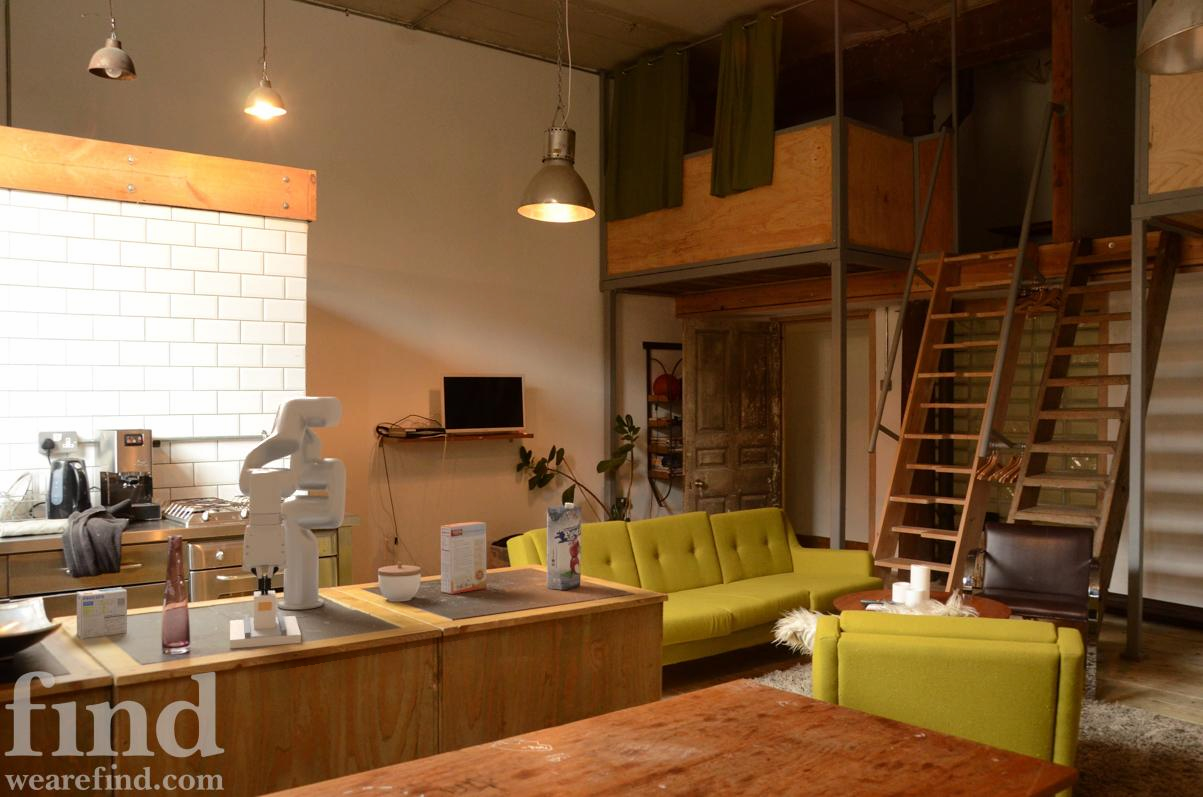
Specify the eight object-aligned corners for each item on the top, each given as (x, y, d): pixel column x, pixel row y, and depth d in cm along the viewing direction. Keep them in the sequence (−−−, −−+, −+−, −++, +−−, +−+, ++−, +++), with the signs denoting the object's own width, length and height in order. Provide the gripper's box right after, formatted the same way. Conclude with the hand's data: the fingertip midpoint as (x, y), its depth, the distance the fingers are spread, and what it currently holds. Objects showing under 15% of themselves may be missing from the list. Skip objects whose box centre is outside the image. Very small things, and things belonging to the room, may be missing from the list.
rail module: (253, 623, 241) (253, 591, 241) (274, 622, 243) (274, 590, 243) (254, 629, 234) (254, 596, 234) (275, 628, 236) (275, 595, 236)
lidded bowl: (414, 593, 293) (415, 557, 293) (425, 601, 281) (426, 563, 281) (373, 597, 287) (373, 560, 287) (382, 605, 276) (383, 566, 276)
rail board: (229, 628, 246) (230, 615, 246) (295, 623, 251) (295, 610, 252) (229, 648, 225) (230, 634, 225) (300, 642, 231) (300, 628, 231)
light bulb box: (121, 628, 245) (122, 586, 246) (128, 633, 240) (128, 590, 240) (75, 634, 239) (75, 591, 239) (80, 639, 234) (80, 595, 234)
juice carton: (542, 588, 302) (543, 503, 302) (561, 583, 311) (561, 500, 311) (566, 591, 297) (566, 504, 297) (584, 586, 306) (584, 502, 306)
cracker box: (475, 586, 305) (475, 520, 306) (487, 588, 301) (487, 522, 301) (439, 592, 295) (439, 524, 296) (451, 594, 291) (451, 526, 291)
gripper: (295, 517, 245) (294, 589, 245) (233, 519, 239) (232, 592, 239) (297, 520, 238) (296, 594, 238) (233, 522, 232) (232, 598, 232)
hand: (264, 593), depth 238 cm, fingers closed
